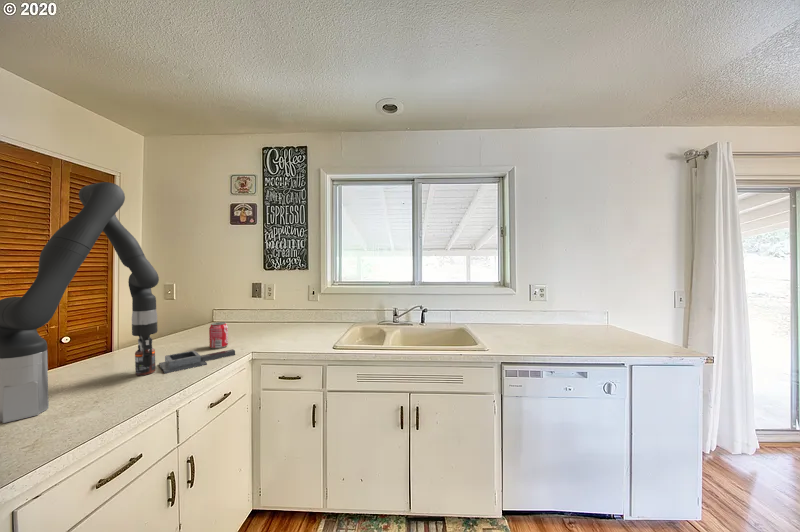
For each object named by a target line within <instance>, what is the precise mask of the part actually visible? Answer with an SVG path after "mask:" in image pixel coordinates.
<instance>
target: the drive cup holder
mask: <svg viewBox="0 0 800 532" xmlns="http://www.w3.org/2000/svg"><path fill="white" fill-rule="evenodd" d="M232 356H236V350H235V349H228V350H223V351H218V352H212V353H207V354H202V355H200V354H199V353H198V352H197V351H196V350H188V351H184V352H183V351H182V352H179V353H178V352H177V353H172V354H168V355H164V361H162V362H161V361H160V362H159V363H158V366H159V367H160V369H161V371H162V372H163V374H165V375H166V374H171V373H174V371H175V372H179V370H180V371H183V369H184V370H189V369H193V367H194V368H196V367H197V366H198V367H201V366H202V365H203V366H207V365H208V363H207V362H208V361H211V360H217V359H222V357H223V358H226V357H232ZM203 366H202V367H203ZM188 368H189V369H188Z"/></svg>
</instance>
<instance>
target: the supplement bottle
mask: <svg viewBox="0 0 800 532" xmlns="http://www.w3.org/2000/svg"><path fill="white" fill-rule="evenodd" d="M145 353H149V351H145ZM134 363H135V365H134V366H135V367H134V368H135V376H139V377H140V376H147V375H151V374H153V373H155V371H156V349H155V348H153V347H152V355H151V365H150V366H147V367H143V356H142V352H141V351H140V345H138V344H137V350H135V353H134Z"/></svg>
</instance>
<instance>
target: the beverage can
mask: <svg viewBox="0 0 800 532" xmlns="http://www.w3.org/2000/svg"><path fill="white" fill-rule="evenodd" d="M208 330H209V337H208V338H209V339H208V340H209V341H208V343H209V348H211V349H212V350H218V349H219V348H220V349H224V348H226V347H227V346H228V345H229V327H228V324H227V322H226V321H217V322H212V323H210V326H209V328H208Z"/></svg>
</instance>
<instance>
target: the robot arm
mask: <svg viewBox="0 0 800 532" xmlns="http://www.w3.org/2000/svg"><path fill="white" fill-rule="evenodd" d="M78 191H79V192H78V198H79V201H80V202H81V204H82V205H83V208H82V209H81V210H80V211H79V212H78V213H77V214H76V215H75V216H73V217H72V218H71V219H70V220H69V221H67V222H65V224H63V225H62V226H61V227H60V228H59V229H57V230H56V232H54V234H53V235H52V236H51V237H50V238H49V239H48V241H47V242H46V243H45V244H44V246H43V248H42V250H41V252H40V254H39V260H38V269H37V270H38V272H37V275H36V277H35V280H34V281H33V283H32V284H31V285H30V286H29V288H28V289H27V291H26V292H25V293H24V294H23V295H22V296H8V297H4V298H2V299H0V422H1V423H2V424H5V423H10V422H15V421H17V420H18V421H19V420H22V419H26V418H30V417H34V416H38V415H40V414H41V413H43V412H45V411H47V410H48V409H49V407H50V406H49V376H48V374H49V371H48V370H49V368H48V367H49V366H48V343H47V340H46V339H45V338H43V337H42V336H41V335H40V334H39V333H38V329H40V328H42V327H44V326H45V325H46V324H47V323H49V322H50V321H51V320H52V318H53V317H54V314H55V313H56V311H57V310H58V307H59V305H60V302H61V300H62V298H63V296H64V294H65V292H66V290H67V288H68V286H69V285H70V283H71V282H72V280H73V279H74V277H75V275H76V274H77V271H79V269H80V267H81V266H82V264H83V263H84V262H85V260H86V259H87V257H88V255H89V254H90V253H91V251H92V249H93V248H94V246H95V244H96V242H97V241H98V239H99V237H100V236H101V234H102V232H103V233H104V234H105V236H106V237H107V239H108V241H109V242H110V243H111V245H112V247H113V249H114V251H115V252H116V254H117V256H118V258H119V260H120V262H121V263H122V265H124V267H126V268H128V269H129V271H130V272H131V273H130V274H129V277H128V281H127V282H128V288H129V292H130V296H131V300H132V302H131V303H132V305H131V306H132V307H131V309H132V312H131V335H132V336H133V337H138V339H137V342H138V343H137V346H138V345H140V351H141V352H142V356H143V367H147V366H150V365H151V355H152V348H153V338H152V337H151V335H155V334H157V333H158V311H157V297H156V295H155V294H153V293H152V289H153V288H155V287H156V286H158V283H159V281H160V277H159V274H158V272H157V270H156V269H155V268H154V266H153V265H152V264H151V262H150V261H149V260H148V258H146V256H145V254H144V251H143V249H142V247H141V245H140V243H139V242H138V240H137V239H136V238H135V237H134V235H132V234H131V232H130V231H129V230H128V229H127V228H125V226H124V225H123V224H122V223H121V222H120V220H119V219H118V218H117V215H116V213H117V212H118V211H119V210H120V209H121V208H122V206H123V205H124V203H125V199H126V196H125V192H124V190H123V189H122V187H121V186H119V185H118V184H115V183H113V182H108V181H107V182H106V181H101V182H96V183H91V184H88V185H85V186H83V187H81V188H80V190H78ZM145 351H149V353H145Z"/></svg>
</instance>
